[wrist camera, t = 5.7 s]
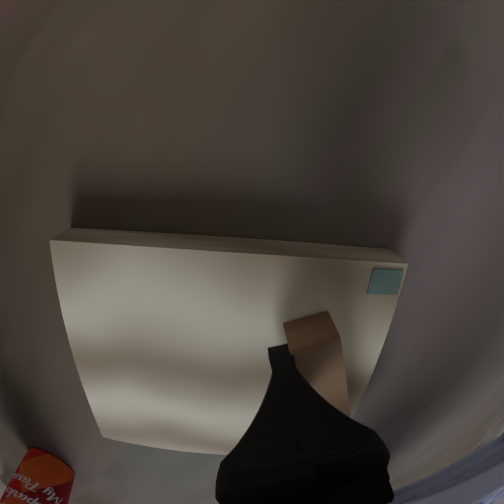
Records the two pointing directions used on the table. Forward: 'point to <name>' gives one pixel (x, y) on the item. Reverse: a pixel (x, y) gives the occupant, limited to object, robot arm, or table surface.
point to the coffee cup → (39, 480)
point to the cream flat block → (208, 325)
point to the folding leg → (319, 356)
